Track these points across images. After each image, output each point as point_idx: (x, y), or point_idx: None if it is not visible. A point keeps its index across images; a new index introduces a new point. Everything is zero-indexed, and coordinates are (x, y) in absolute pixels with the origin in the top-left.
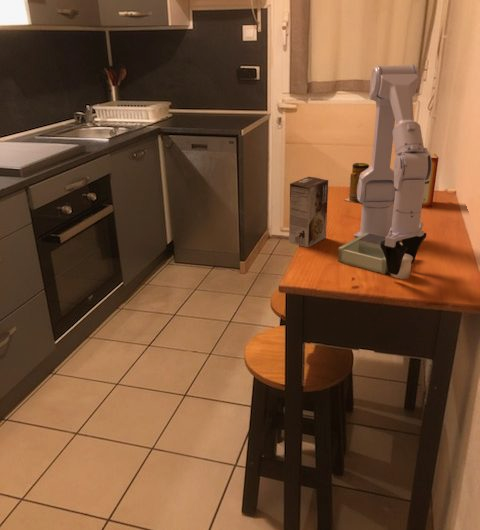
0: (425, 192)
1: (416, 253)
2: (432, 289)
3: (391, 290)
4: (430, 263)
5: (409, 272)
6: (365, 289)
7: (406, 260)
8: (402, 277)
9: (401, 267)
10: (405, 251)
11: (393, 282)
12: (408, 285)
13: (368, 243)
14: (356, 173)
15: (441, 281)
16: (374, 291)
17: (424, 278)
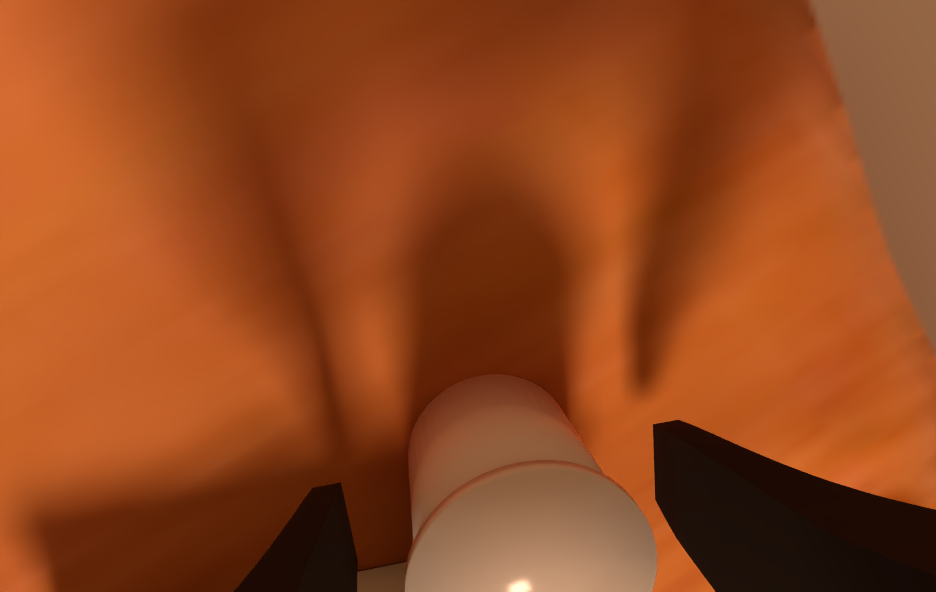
0: None
1: (276, 554)
2: (561, 86)
3: (795, 322)
4: (4, 434)
5: (483, 398)
6: (884, 451)
7: (603, 487)
8: (549, 399)
9: (596, 465)
10: (915, 551)
11: (653, 398)
12: (626, 286)
13: None
14: None
15: (326, 118)
16: (880, 392)
17: (390, 273)
